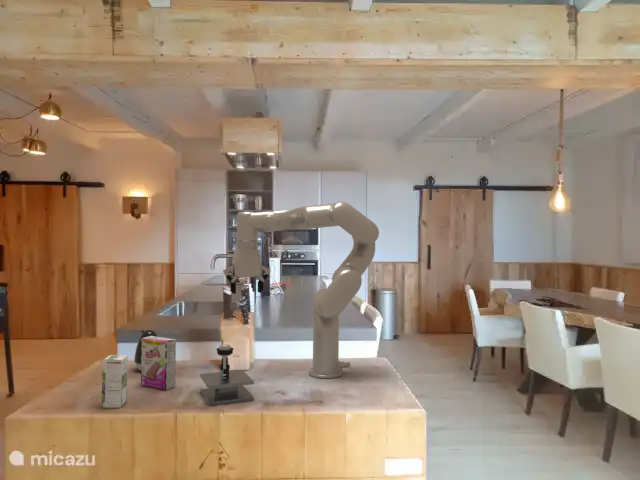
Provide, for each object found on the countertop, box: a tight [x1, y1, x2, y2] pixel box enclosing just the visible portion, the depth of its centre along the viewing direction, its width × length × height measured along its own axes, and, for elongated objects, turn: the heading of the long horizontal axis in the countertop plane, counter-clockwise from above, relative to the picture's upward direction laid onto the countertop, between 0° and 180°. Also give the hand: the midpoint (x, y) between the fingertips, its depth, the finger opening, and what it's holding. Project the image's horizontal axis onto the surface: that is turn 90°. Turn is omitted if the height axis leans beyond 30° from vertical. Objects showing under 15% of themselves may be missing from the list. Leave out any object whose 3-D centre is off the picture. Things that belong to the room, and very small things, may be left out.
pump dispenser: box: [133, 329, 159, 372], centre depth 196 cm, size 10×10×15 cm
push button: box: [216, 344, 234, 379], centre depth 166 cm, size 7×5×10 cm
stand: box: [199, 369, 255, 407], centre depth 166 cm, size 14×14×6 cm
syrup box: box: [101, 354, 128, 409], centre depth 157 cm, size 6×6×14 cm
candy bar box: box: [140, 336, 177, 391], centre depth 175 cm, size 11×5×16 cm, turn 65°
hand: (246, 292), depth 189 cm, fingers open, 9 cm apart
